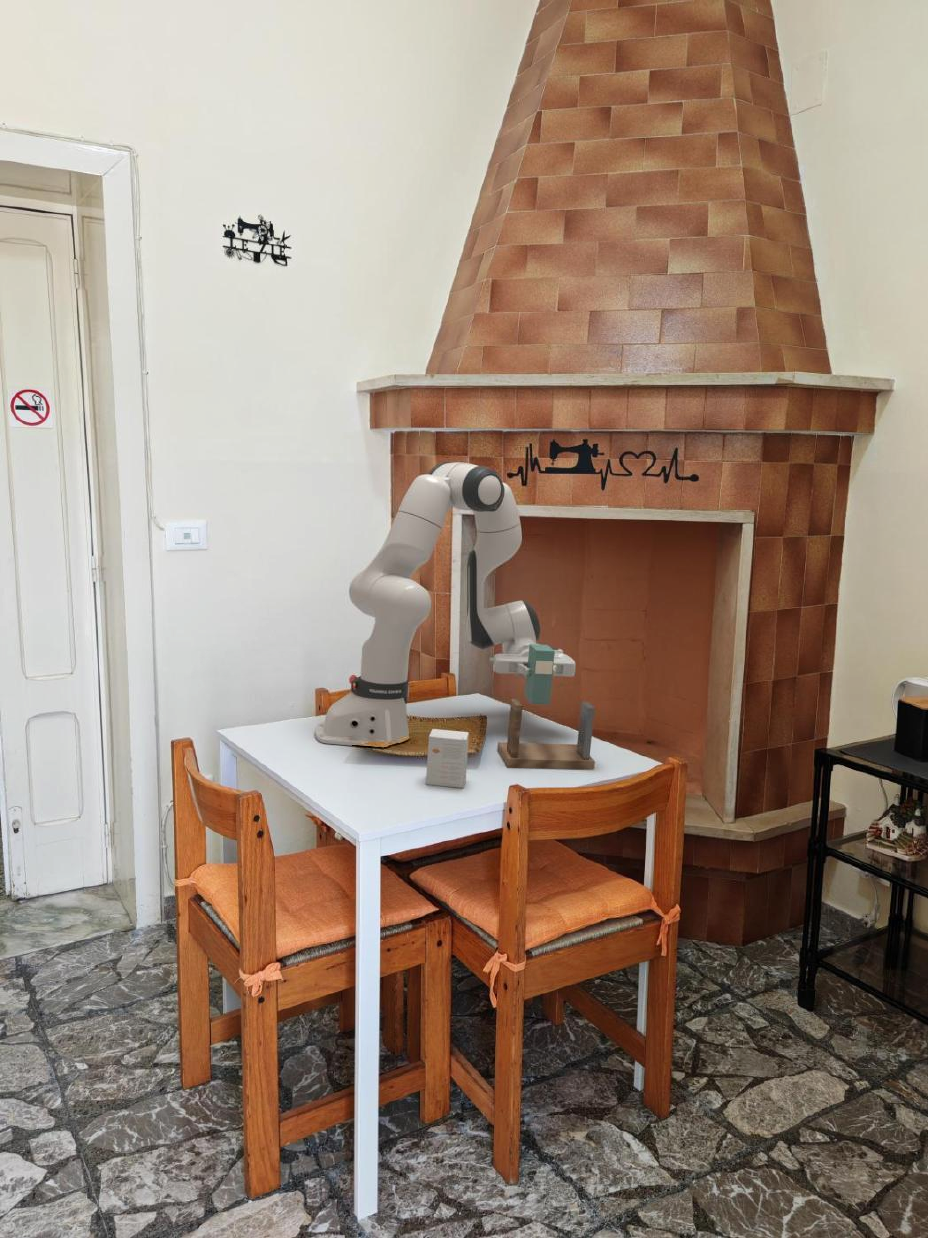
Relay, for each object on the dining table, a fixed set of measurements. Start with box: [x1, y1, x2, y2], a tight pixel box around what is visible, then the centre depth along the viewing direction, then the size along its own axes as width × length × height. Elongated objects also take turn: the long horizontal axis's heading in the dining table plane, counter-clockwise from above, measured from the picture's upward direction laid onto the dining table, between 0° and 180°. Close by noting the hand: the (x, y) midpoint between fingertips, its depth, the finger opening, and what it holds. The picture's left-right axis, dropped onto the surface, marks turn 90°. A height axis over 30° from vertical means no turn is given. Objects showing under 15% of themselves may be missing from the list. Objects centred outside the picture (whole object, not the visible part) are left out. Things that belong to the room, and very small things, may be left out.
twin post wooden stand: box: [496, 698, 596, 770], centre depth 211 cm, size 20×12×14 cm, turn 98°
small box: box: [425, 728, 470, 789], centre depth 192 cm, size 8×6×10 cm
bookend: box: [576, 701, 595, 760], centre depth 210 cm, size 2×6×12 cm, turn 9°
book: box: [524, 643, 555, 706], centre depth 221 cm, size 4×7×13 cm, turn 9°
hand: (540, 672), depth 220 cm, fingers closed on book, 4 cm apart
